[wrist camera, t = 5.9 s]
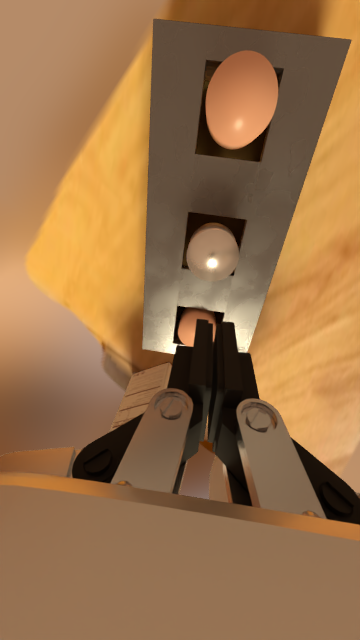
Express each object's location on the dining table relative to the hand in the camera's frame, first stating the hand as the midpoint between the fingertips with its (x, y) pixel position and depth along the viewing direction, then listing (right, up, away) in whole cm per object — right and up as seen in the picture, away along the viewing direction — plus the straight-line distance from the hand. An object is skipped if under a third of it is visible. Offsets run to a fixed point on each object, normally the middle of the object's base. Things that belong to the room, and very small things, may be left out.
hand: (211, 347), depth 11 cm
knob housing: (+2, +11, +15) cm, 19 cm away
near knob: (+2, +15, +5) cm, 16 cm away
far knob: (+1, +1, +17) cm, 17 cm away
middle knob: (+1, +8, +10) cm, 12 cm away
